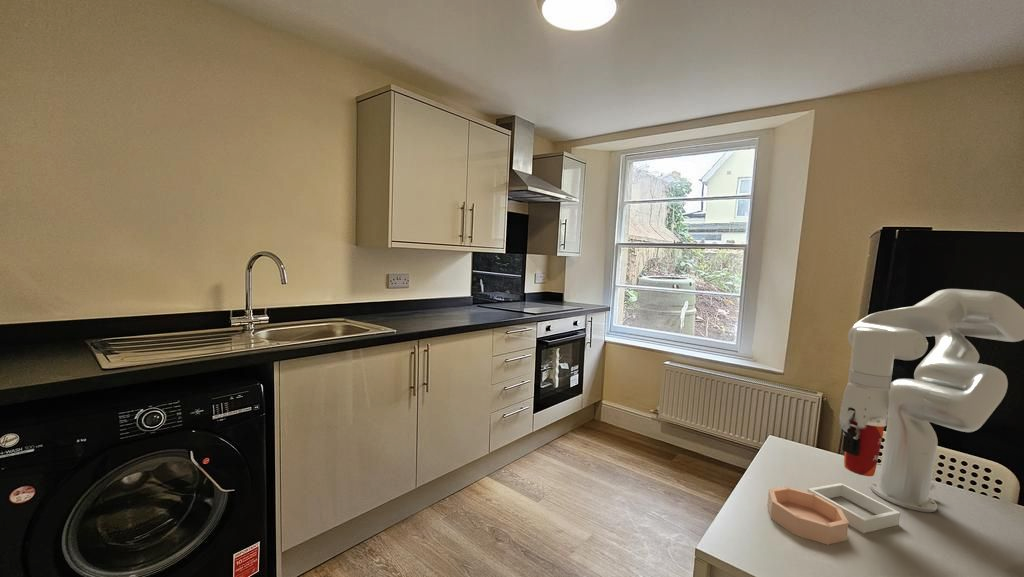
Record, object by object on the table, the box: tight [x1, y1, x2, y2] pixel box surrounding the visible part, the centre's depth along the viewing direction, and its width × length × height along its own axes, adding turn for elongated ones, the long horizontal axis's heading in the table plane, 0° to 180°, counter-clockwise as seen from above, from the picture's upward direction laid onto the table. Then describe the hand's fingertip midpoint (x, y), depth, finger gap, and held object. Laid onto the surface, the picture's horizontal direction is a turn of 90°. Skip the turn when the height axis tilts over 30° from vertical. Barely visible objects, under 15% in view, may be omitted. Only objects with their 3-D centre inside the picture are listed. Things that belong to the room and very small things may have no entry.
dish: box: [766, 486, 849, 545], centre depth 92 cm, size 14×14×4 cm
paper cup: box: [843, 417, 887, 477], centre depth 97 cm, size 8×8×14 cm
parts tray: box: [806, 482, 901, 534], centre depth 98 cm, size 13×13×3 cm
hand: (860, 450), depth 97 cm, fingers closed on paper cup, 6 cm apart
